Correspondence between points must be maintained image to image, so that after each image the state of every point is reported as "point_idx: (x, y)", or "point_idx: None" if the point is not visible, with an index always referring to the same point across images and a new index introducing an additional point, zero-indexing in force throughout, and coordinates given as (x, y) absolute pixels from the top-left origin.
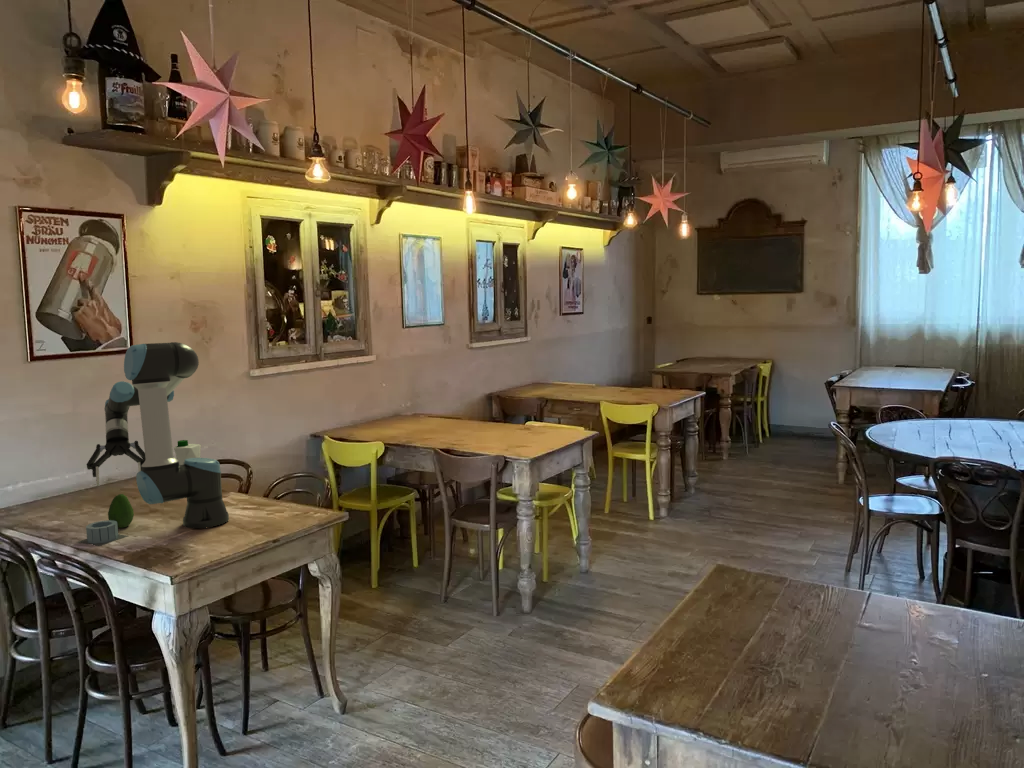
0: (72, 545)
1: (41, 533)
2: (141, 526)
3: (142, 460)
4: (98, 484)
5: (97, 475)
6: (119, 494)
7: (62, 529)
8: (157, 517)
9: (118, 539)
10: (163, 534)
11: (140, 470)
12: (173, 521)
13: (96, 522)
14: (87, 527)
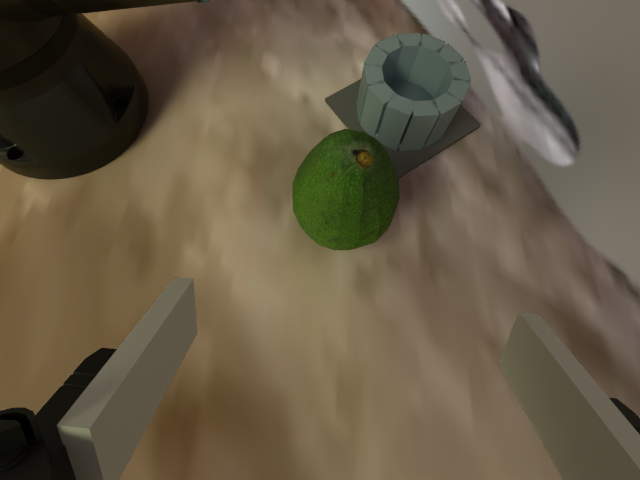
0: (487, 115)
1: (632, 326)
2: (272, 196)
3: (8, 411)
4: (509, 350)
5: (565, 361)
6: (355, 140)
7: (561, 339)
8: None
9: (357, 82)
10: (226, 70)
11: (141, 321)
12: (157, 193)
13: (437, 106)
14: (463, 64)
